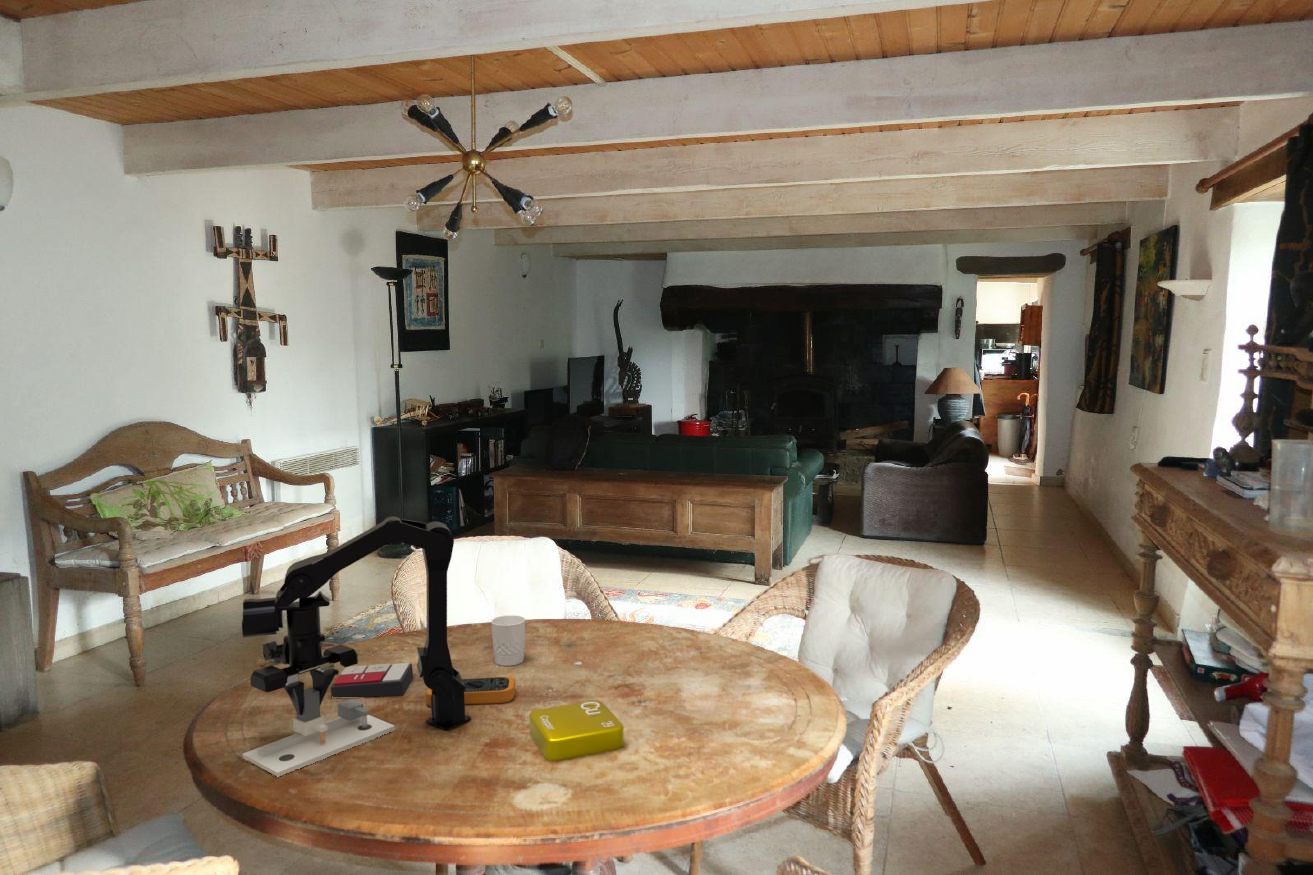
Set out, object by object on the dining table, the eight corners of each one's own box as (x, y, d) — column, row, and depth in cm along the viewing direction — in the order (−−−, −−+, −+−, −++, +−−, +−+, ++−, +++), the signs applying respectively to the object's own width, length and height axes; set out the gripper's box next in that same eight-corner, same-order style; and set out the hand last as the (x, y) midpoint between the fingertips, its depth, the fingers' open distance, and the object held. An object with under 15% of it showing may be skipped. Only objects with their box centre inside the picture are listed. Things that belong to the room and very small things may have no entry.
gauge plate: (395, 730, 172) (394, 707, 172) (277, 778, 153) (276, 752, 153) (358, 715, 180) (357, 693, 179) (242, 759, 161) (241, 734, 160)
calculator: (344, 665, 199) (412, 659, 200) (346, 683, 200) (413, 678, 201) (329, 683, 188) (401, 677, 189) (331, 703, 189) (403, 697, 190)
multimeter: (514, 704, 185) (513, 688, 185) (425, 709, 183) (425, 693, 183) (515, 689, 194) (515, 674, 194) (431, 693, 192) (430, 678, 191)
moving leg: (335, 739, 166) (333, 694, 165) (315, 746, 162) (313, 701, 162) (313, 729, 170) (311, 686, 169) (293, 736, 167) (291, 692, 166)
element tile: (527, 732, 172) (526, 708, 172) (600, 719, 178) (600, 696, 177) (548, 765, 158) (547, 739, 158) (626, 750, 164) (626, 725, 164)
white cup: (488, 658, 212) (487, 617, 211) (520, 653, 216) (519, 613, 215) (497, 669, 205) (496, 627, 204) (530, 664, 209) (529, 622, 208)
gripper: (325, 611, 177) (329, 686, 179) (232, 635, 163) (237, 717, 164) (357, 621, 171) (361, 699, 172) (264, 647, 156) (269, 733, 158)
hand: (308, 711), depth 167 cm, fingers closed on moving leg, 3 cm apart
